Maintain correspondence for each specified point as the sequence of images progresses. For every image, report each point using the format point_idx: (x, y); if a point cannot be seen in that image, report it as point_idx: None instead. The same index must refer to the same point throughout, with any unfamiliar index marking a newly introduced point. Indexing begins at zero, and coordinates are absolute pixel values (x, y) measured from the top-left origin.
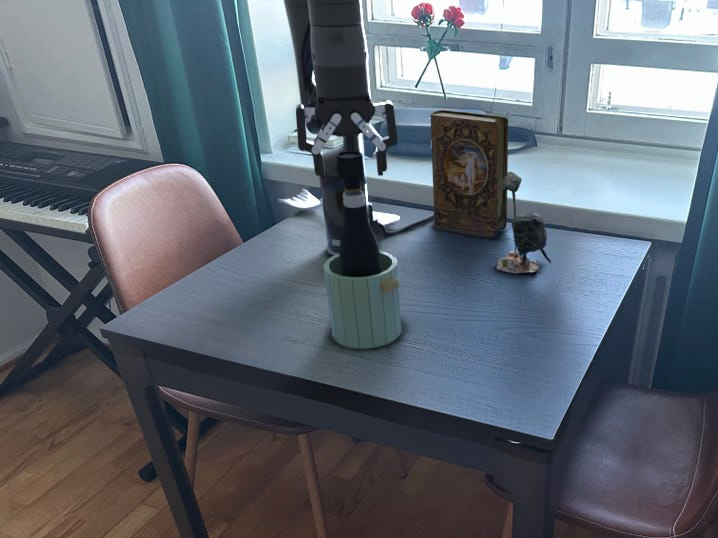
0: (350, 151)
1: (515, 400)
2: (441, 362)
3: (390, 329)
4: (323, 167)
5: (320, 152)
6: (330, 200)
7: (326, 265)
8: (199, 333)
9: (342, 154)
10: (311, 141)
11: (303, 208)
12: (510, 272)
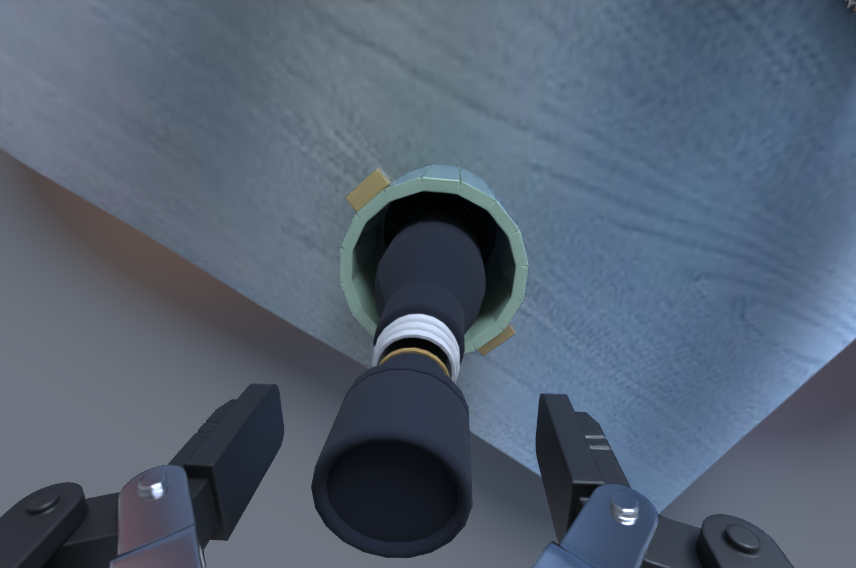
0: (398, 443)
1: (626, 467)
2: (550, 359)
3: None
4: (258, 483)
5: (209, 538)
6: None
7: (345, 267)
8: (127, 173)
9: (348, 456)
10: (105, 538)
11: None
12: (850, 6)
